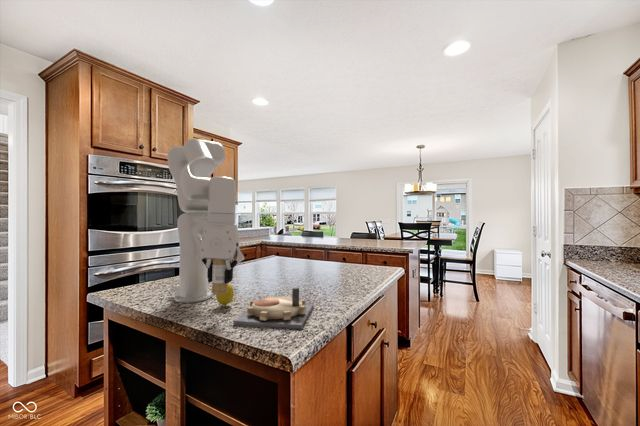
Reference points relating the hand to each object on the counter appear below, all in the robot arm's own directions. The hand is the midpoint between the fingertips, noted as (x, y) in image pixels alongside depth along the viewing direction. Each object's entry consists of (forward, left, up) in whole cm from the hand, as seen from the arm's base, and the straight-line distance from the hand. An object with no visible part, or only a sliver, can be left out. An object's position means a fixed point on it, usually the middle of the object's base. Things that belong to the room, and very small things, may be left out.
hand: (220, 281), depth 81 cm
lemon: (-4, +11, -11) cm, 16 cm away
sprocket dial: (+16, +5, -9) cm, 19 cm away
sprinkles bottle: (0, 0, -4) cm, 4 cm away
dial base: (+16, +5, -11) cm, 20 cm away
